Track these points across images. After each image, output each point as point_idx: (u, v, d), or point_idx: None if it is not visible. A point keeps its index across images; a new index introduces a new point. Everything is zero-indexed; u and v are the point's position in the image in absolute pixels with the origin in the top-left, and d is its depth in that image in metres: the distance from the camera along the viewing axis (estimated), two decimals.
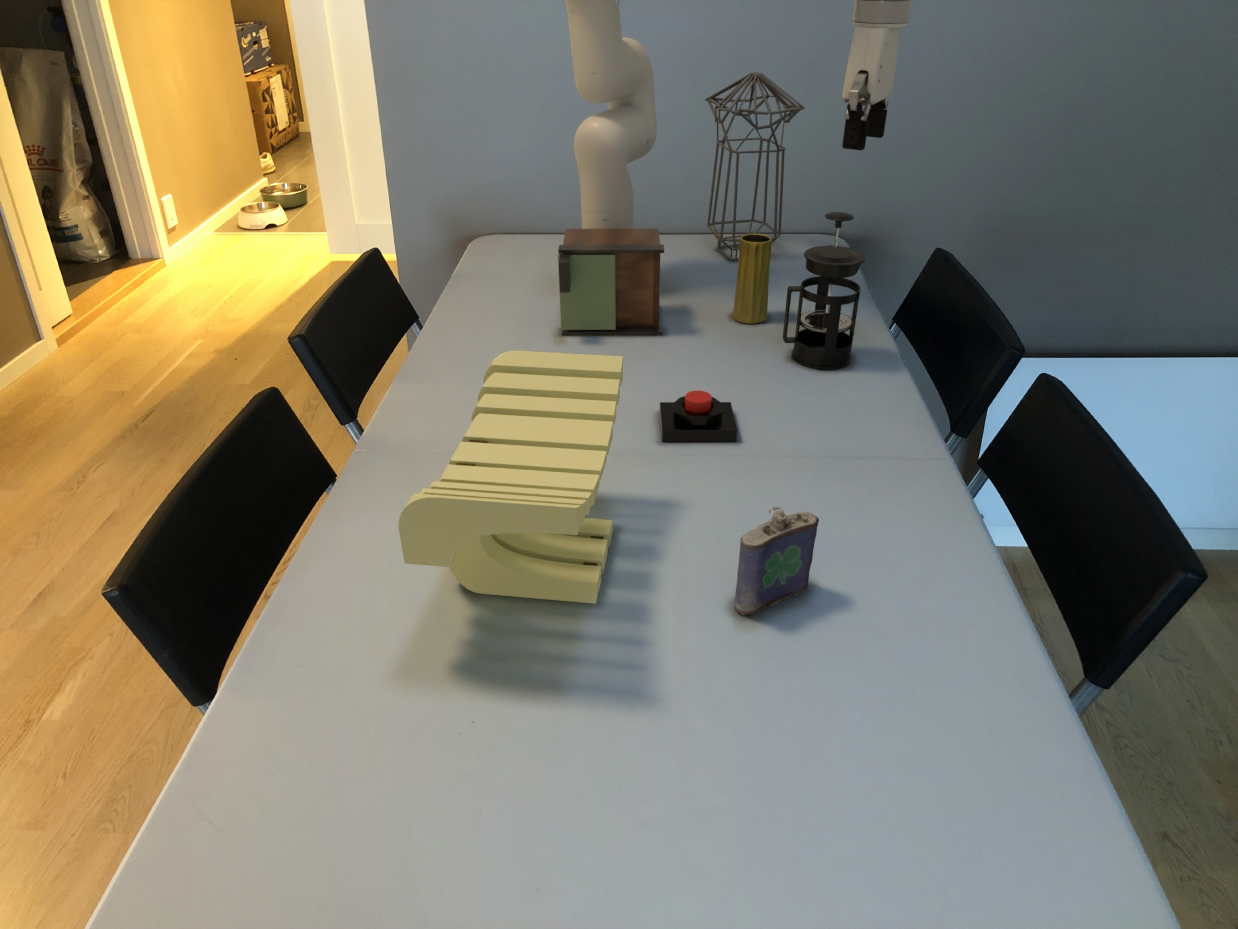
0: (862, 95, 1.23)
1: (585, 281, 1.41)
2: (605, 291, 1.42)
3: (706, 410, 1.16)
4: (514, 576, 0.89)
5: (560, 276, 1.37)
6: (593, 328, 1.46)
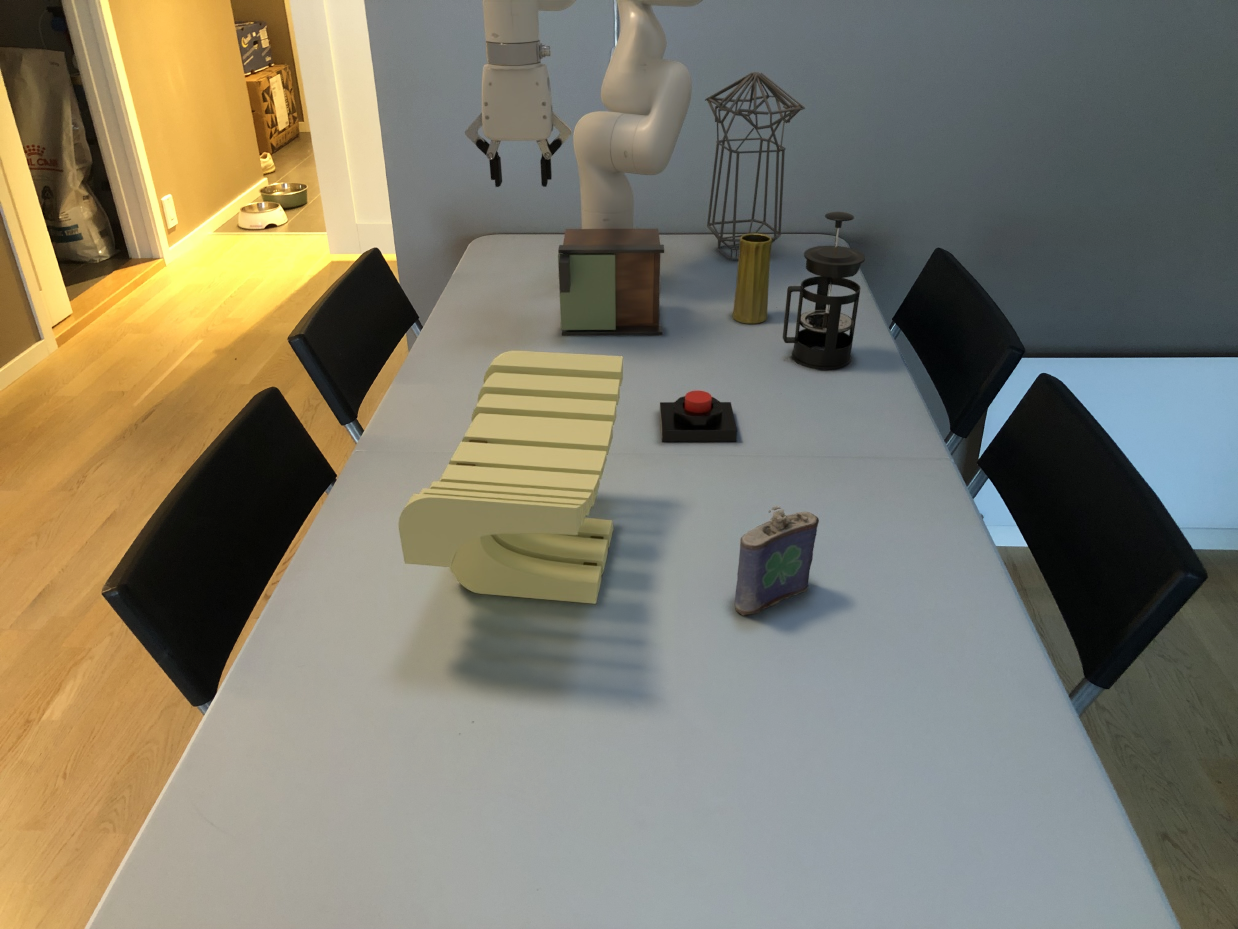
0: None
1: (585, 281, 1.41)
2: (605, 291, 1.42)
3: (706, 410, 1.16)
4: (514, 576, 0.90)
5: (560, 276, 1.37)
6: (593, 328, 1.46)
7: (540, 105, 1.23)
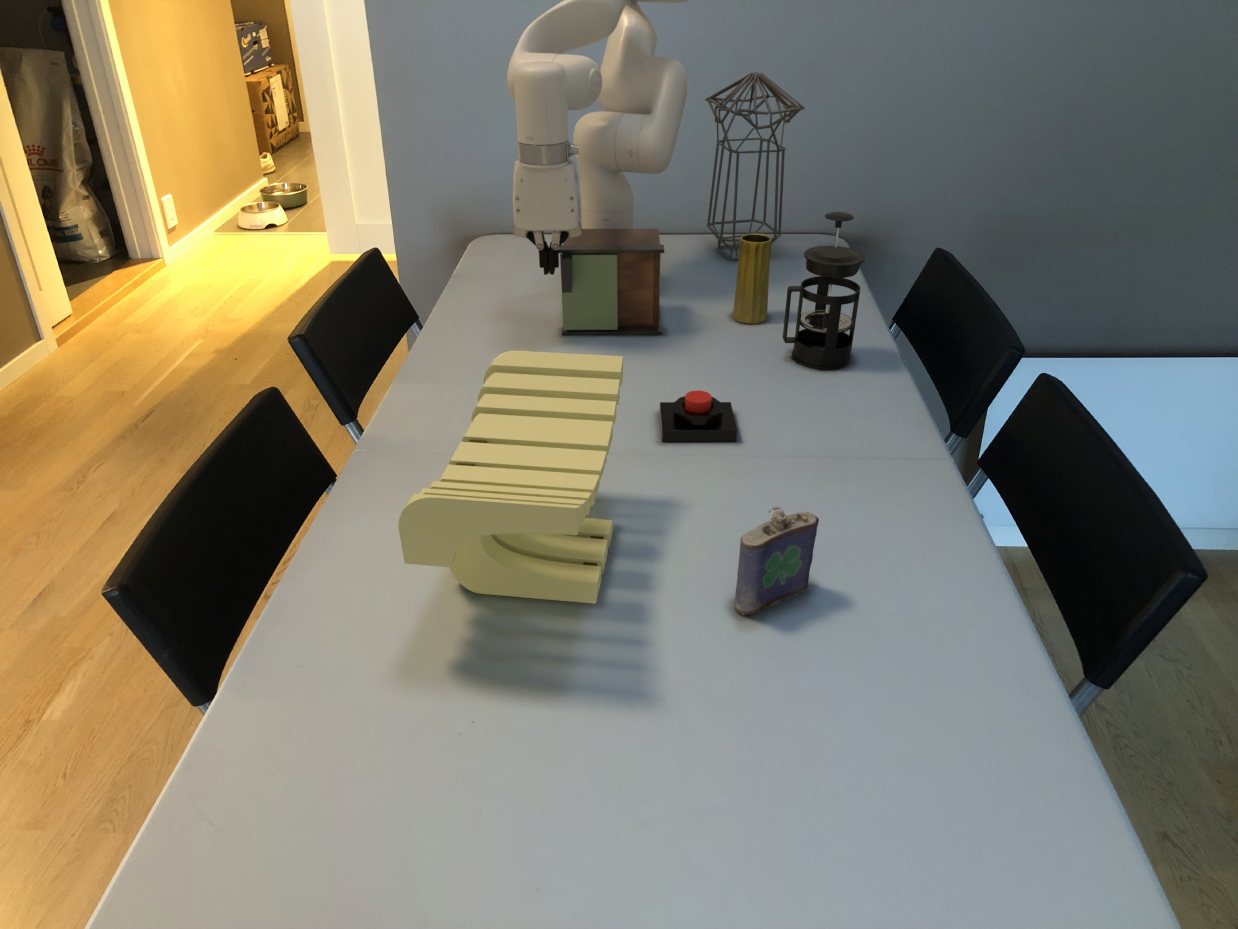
0: None
1: (587, 281, 1.41)
2: (607, 291, 1.42)
3: (706, 410, 1.16)
4: (514, 576, 0.90)
5: (562, 276, 1.37)
6: (595, 328, 1.46)
7: (568, 199, 1.30)
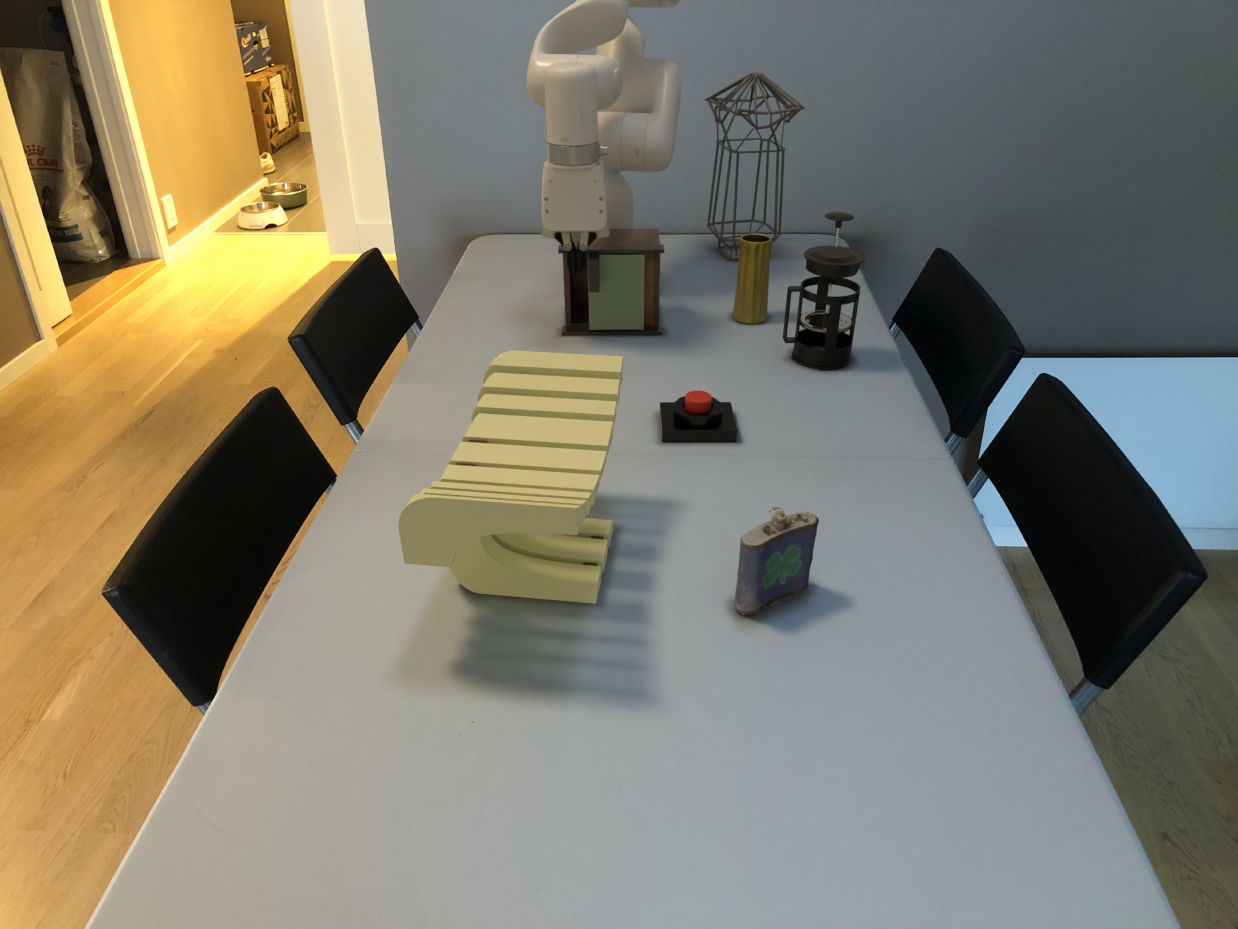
0: None
1: (614, 281, 1.41)
2: (634, 291, 1.42)
3: (706, 410, 1.16)
4: (514, 576, 0.90)
5: (590, 276, 1.37)
6: (622, 328, 1.46)
7: (597, 200, 1.30)
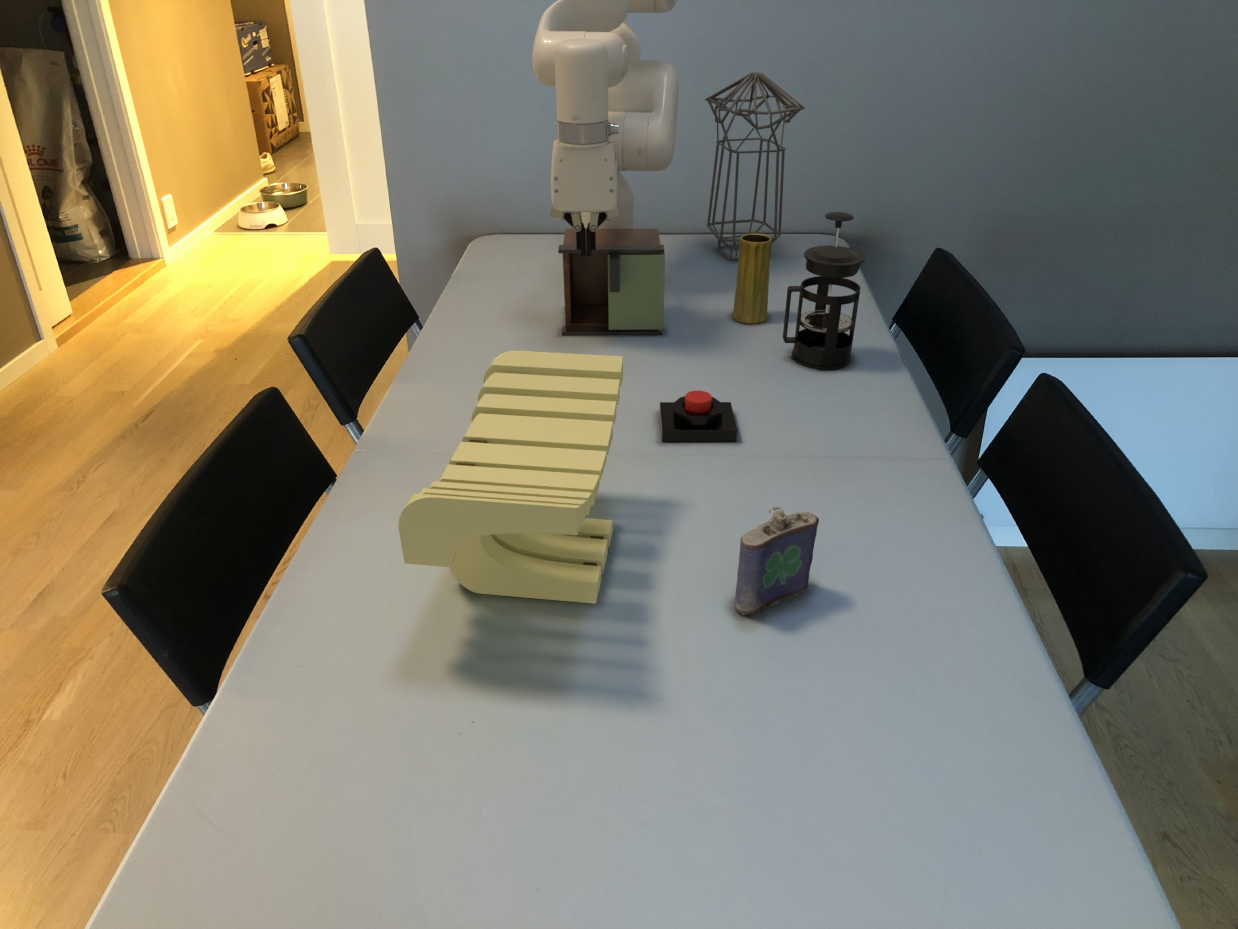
0: None
1: (634, 281, 1.41)
2: (654, 291, 1.42)
3: (706, 410, 1.16)
4: (514, 576, 0.90)
5: (611, 276, 1.37)
6: (641, 328, 1.46)
7: (608, 180, 1.29)
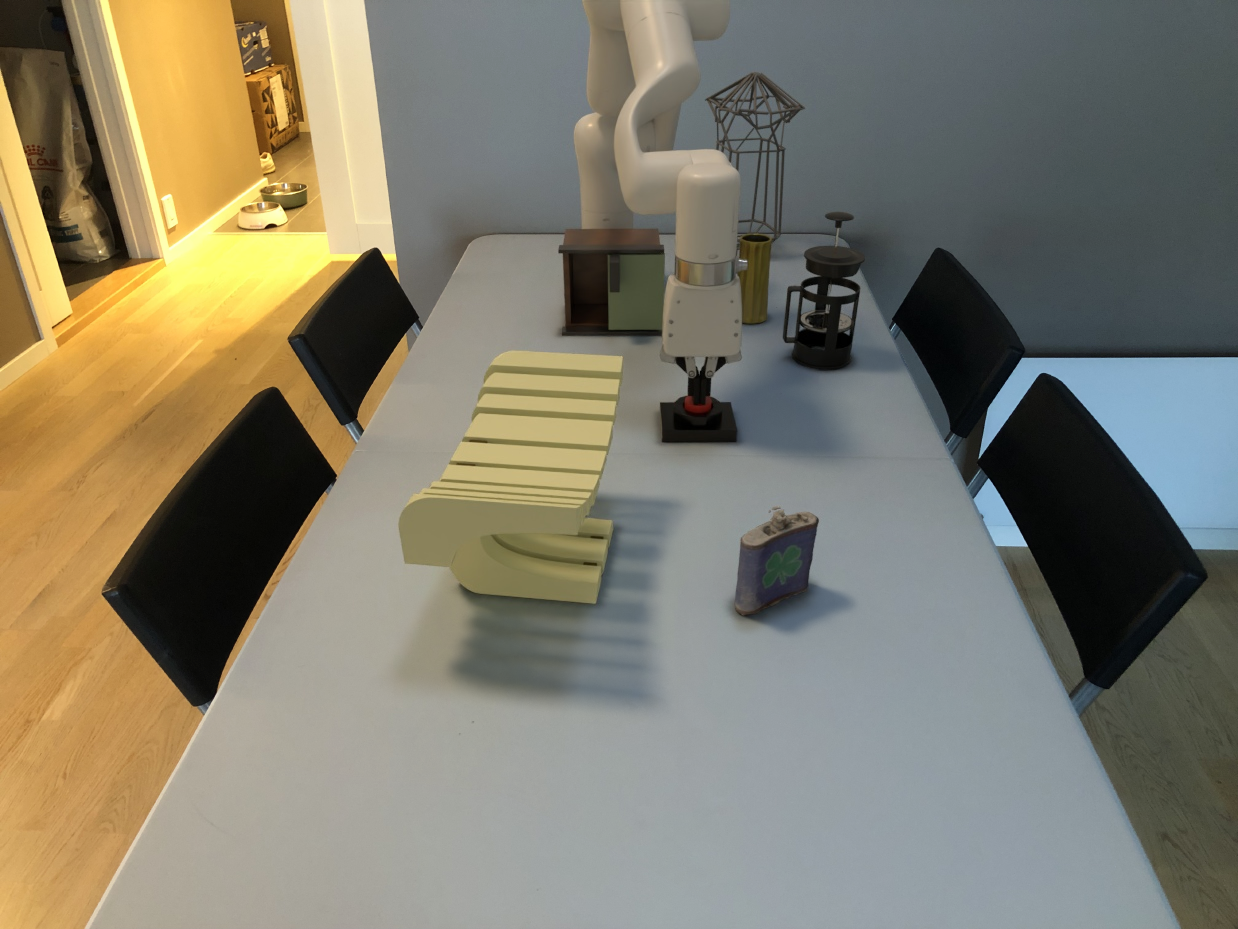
0: None
1: (634, 281, 1.41)
2: (654, 291, 1.42)
3: None
4: (514, 576, 0.90)
5: (611, 276, 1.37)
6: (641, 328, 1.46)
7: (732, 323, 1.09)
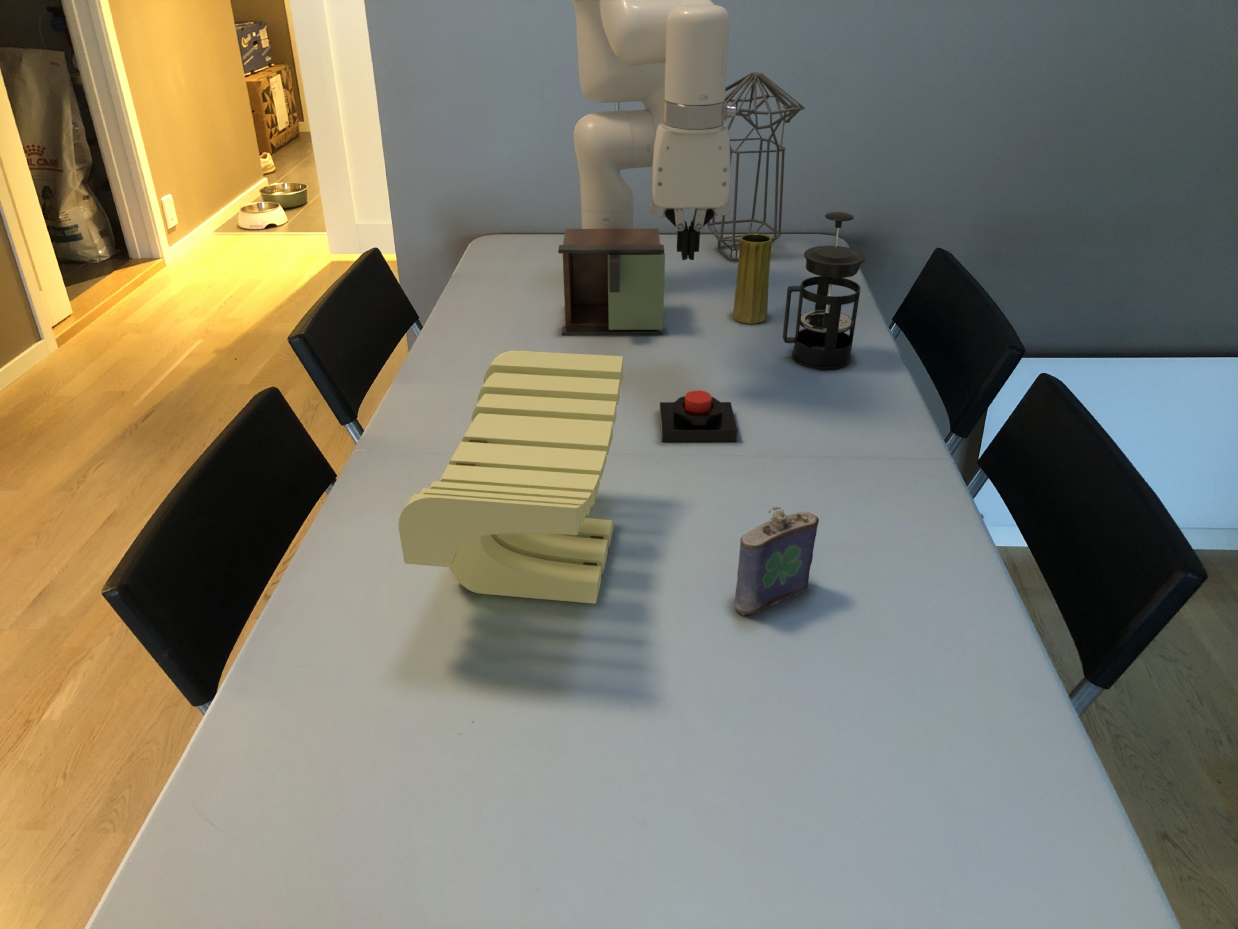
0: None
1: (634, 281, 1.41)
2: (654, 291, 1.42)
3: (706, 410, 1.16)
4: (514, 576, 0.90)
5: (611, 276, 1.37)
6: (641, 328, 1.46)
7: (721, 171, 1.10)
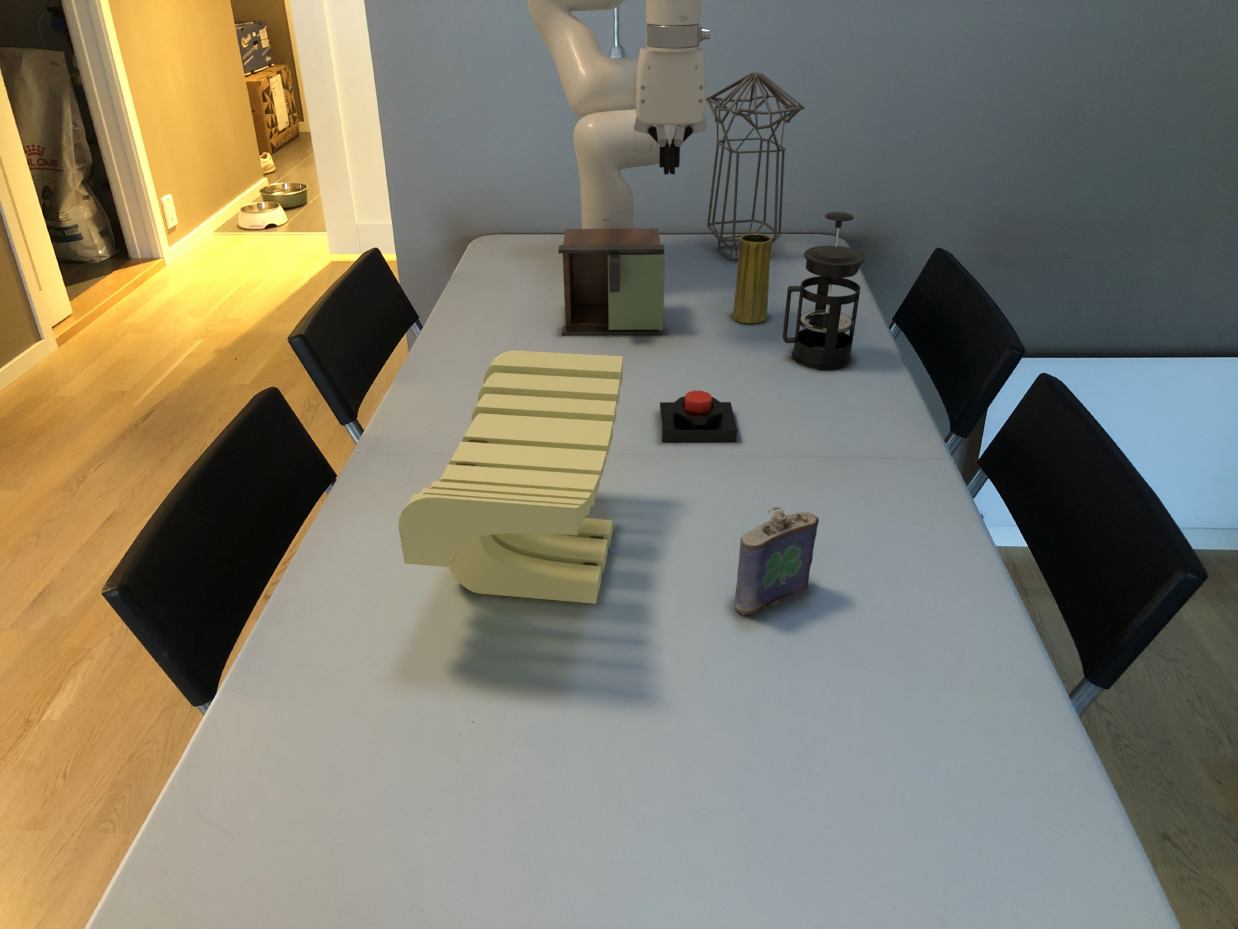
0: None
1: (634, 281, 1.41)
2: (654, 291, 1.42)
3: (706, 410, 1.16)
4: (514, 576, 0.90)
5: (611, 276, 1.37)
6: (641, 328, 1.46)
7: (697, 89, 1.23)
